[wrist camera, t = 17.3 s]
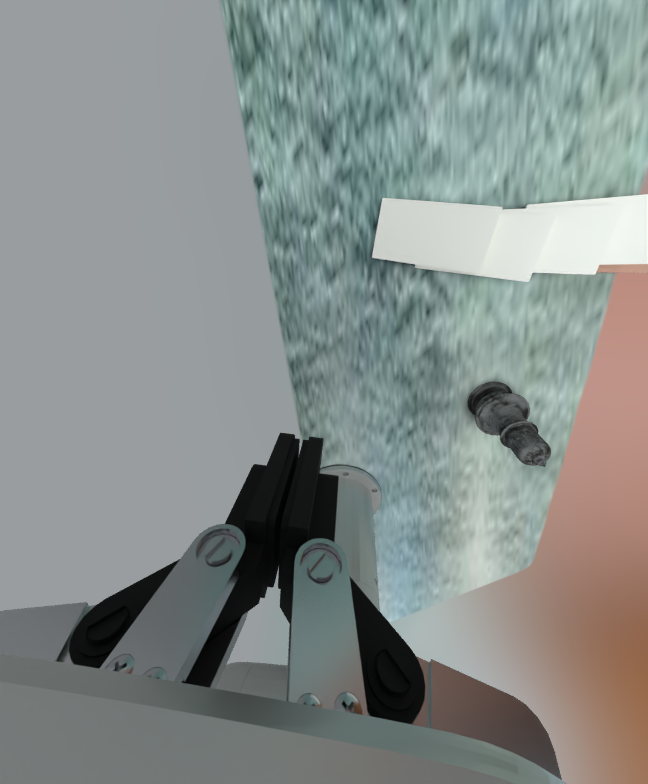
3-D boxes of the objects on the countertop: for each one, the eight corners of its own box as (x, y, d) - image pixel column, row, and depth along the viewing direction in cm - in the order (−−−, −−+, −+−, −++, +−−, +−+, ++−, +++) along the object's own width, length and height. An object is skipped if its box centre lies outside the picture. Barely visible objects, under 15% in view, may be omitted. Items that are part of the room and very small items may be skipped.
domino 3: (467, 269, 29) (589, 272, 25) (466, 270, 28) (595, 274, 24) (479, 211, 27) (616, 206, 23) (479, 210, 26) (624, 204, 22)
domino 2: (417, 266, 30) (526, 280, 26) (414, 267, 28) (528, 282, 25) (430, 210, 27) (552, 217, 24) (427, 208, 26) (556, 215, 22)
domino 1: (376, 257, 30) (479, 273, 26) (371, 257, 28) (478, 274, 25) (387, 200, 27) (501, 209, 24) (382, 197, 26) (502, 207, 22)
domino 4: (510, 264, 29) (643, 262, 25) (512, 265, 27) (652, 263, 24) (524, 206, 26) (673, 193, 23) (527, 204, 25) (685, 191, 21)
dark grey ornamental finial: (457, 394, 36) (499, 458, 26) (504, 371, 34) (570, 430, 24) (476, 426, 38) (522, 497, 28) (521, 405, 36) (590, 473, 26)
